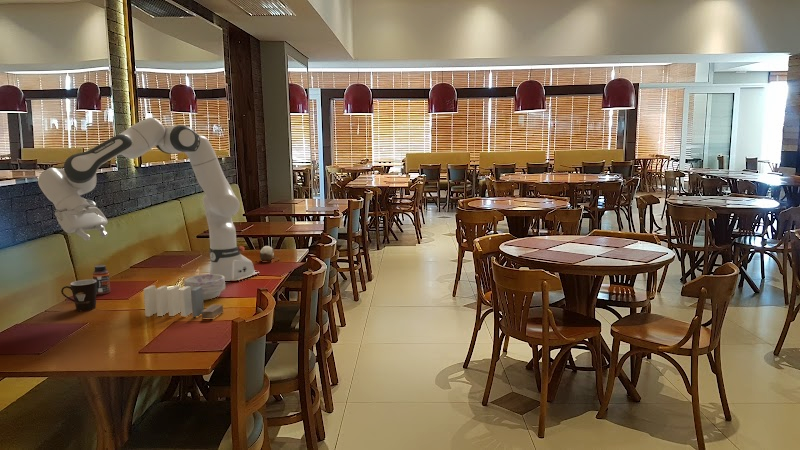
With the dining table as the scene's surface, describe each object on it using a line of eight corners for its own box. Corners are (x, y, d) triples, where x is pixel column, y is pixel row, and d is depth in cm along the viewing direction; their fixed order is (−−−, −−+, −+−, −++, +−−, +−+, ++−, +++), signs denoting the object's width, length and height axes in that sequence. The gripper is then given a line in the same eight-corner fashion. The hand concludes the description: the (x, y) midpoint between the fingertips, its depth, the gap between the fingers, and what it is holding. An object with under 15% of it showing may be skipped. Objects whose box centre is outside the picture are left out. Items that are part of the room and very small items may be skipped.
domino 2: (157, 316, 211) (155, 289, 210) (165, 312, 216) (162, 285, 215) (161, 316, 211) (159, 289, 209) (169, 312, 216) (167, 285, 214)
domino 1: (145, 316, 212) (143, 288, 210) (153, 312, 217) (151, 285, 215) (149, 316, 212) (147, 289, 210) (157, 312, 217) (155, 285, 215)
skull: (257, 256, 307) (270, 241, 305) (272, 269, 307) (285, 255, 305) (249, 260, 295) (263, 245, 293) (265, 274, 295) (278, 259, 293)
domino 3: (169, 317, 211) (166, 289, 209) (176, 312, 215) (174, 285, 214) (173, 317, 210) (171, 289, 209) (180, 313, 215) (178, 286, 214)
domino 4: (181, 317, 210) (179, 290, 208) (188, 313, 215) (186, 286, 213) (185, 317, 210) (183, 290, 208) (192, 313, 215) (190, 286, 213)
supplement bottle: (104, 295, 240) (101, 267, 238) (91, 294, 241) (88, 267, 239) (113, 291, 246) (111, 264, 244) (101, 290, 247) (98, 264, 245)
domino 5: (193, 318, 209) (191, 290, 208) (199, 313, 214) (198, 286, 212) (197, 318, 209) (195, 290, 207) (204, 313, 214) (202, 286, 212)
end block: (202, 319, 207) (201, 311, 207) (212, 312, 215) (212, 304, 214) (213, 320, 206) (212, 311, 206) (223, 313, 214) (222, 305, 214)
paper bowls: (214, 290, 246) (213, 271, 244) (233, 297, 235) (231, 277, 234) (178, 297, 235) (177, 278, 234) (196, 305, 224) (195, 284, 223)
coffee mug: (104, 306, 225) (101, 280, 223) (85, 312, 217) (83, 286, 215) (80, 303, 229) (77, 278, 227) (61, 310, 221) (58, 283, 219)
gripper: (58, 204, 203) (84, 235, 203) (96, 201, 223) (120, 229, 223) (46, 216, 204) (71, 247, 204) (85, 211, 224) (108, 240, 224)
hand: (97, 238), depth 214 cm, fingers open, 8 cm apart
